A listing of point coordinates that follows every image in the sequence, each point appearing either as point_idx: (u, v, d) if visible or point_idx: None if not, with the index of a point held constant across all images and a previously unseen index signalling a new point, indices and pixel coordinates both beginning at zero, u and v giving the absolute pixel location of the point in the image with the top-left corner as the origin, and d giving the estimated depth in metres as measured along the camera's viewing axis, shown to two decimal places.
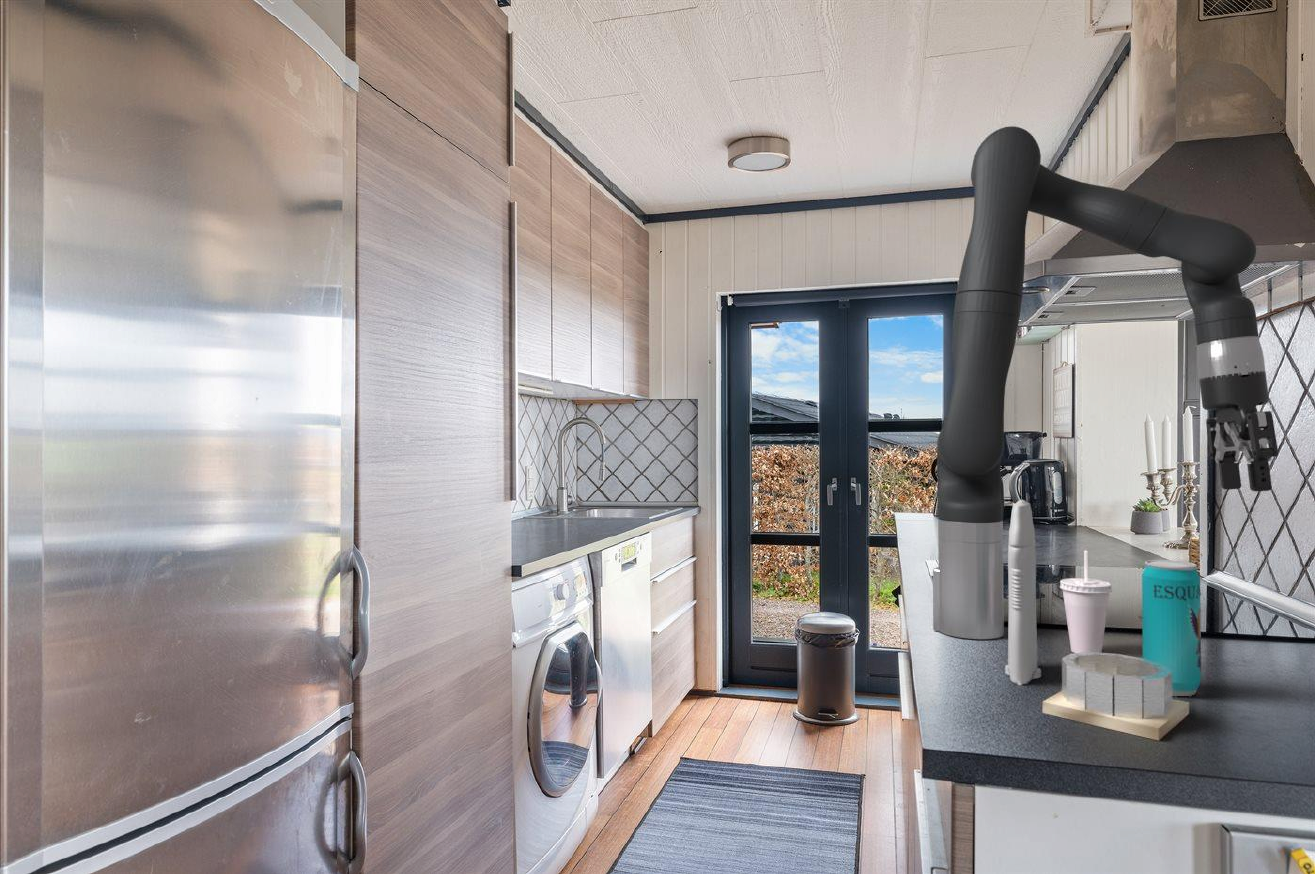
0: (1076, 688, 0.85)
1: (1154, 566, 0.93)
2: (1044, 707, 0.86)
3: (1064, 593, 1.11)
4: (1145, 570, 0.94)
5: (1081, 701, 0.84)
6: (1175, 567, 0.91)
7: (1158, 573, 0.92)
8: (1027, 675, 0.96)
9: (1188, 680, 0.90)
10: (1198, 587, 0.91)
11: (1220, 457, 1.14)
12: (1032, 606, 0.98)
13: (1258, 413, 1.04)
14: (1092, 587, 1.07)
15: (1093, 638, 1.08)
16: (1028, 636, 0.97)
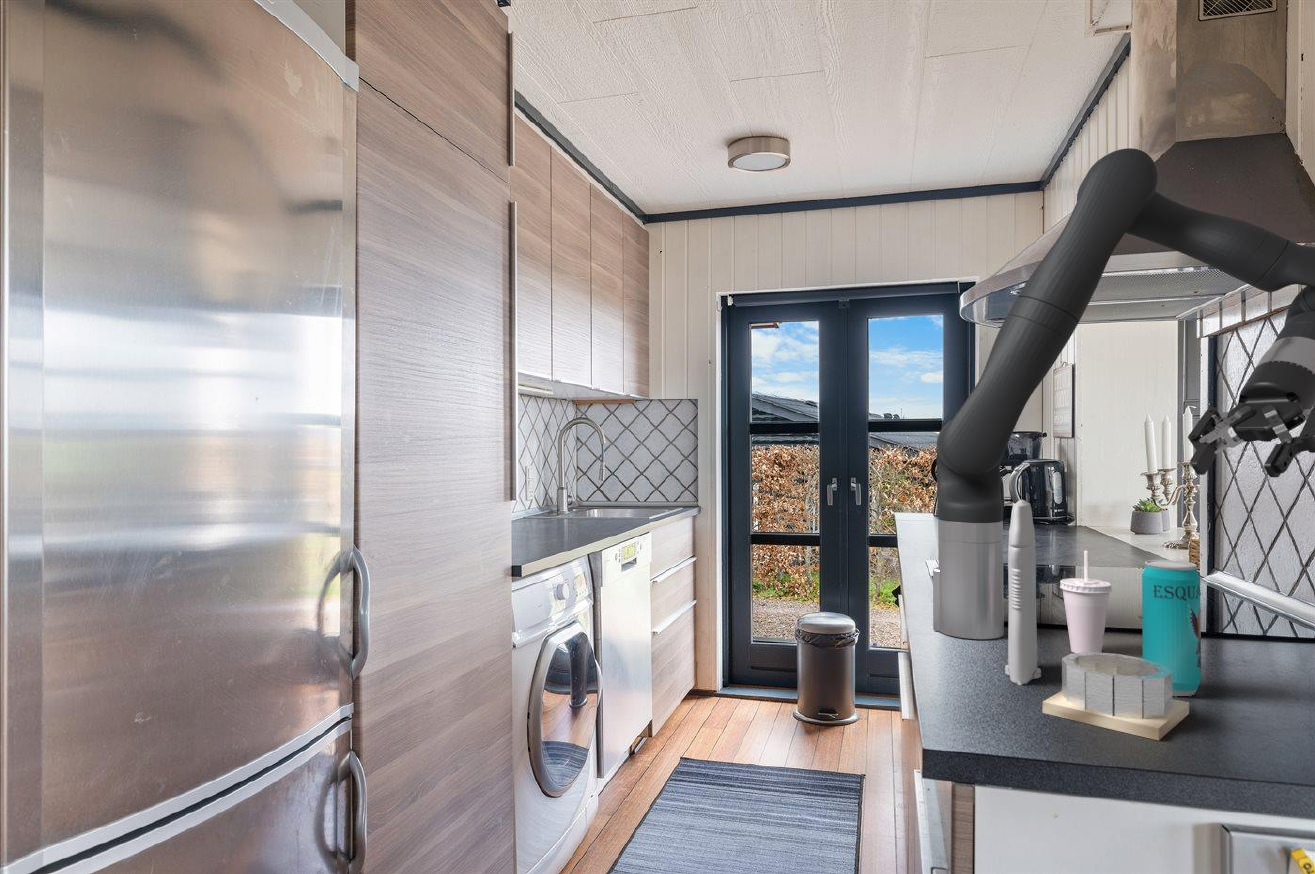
0: (1076, 688, 0.85)
1: (1154, 566, 0.93)
2: (1044, 707, 0.86)
3: (1064, 593, 1.11)
4: (1145, 570, 0.94)
5: (1081, 701, 0.84)
6: (1175, 567, 0.91)
7: (1158, 573, 0.92)
8: (1027, 675, 0.96)
9: (1188, 680, 0.90)
10: (1198, 587, 0.91)
11: (1212, 438, 1.02)
12: (1032, 606, 0.98)
13: None
14: (1092, 587, 1.07)
15: (1093, 638, 1.08)
16: (1028, 636, 0.97)
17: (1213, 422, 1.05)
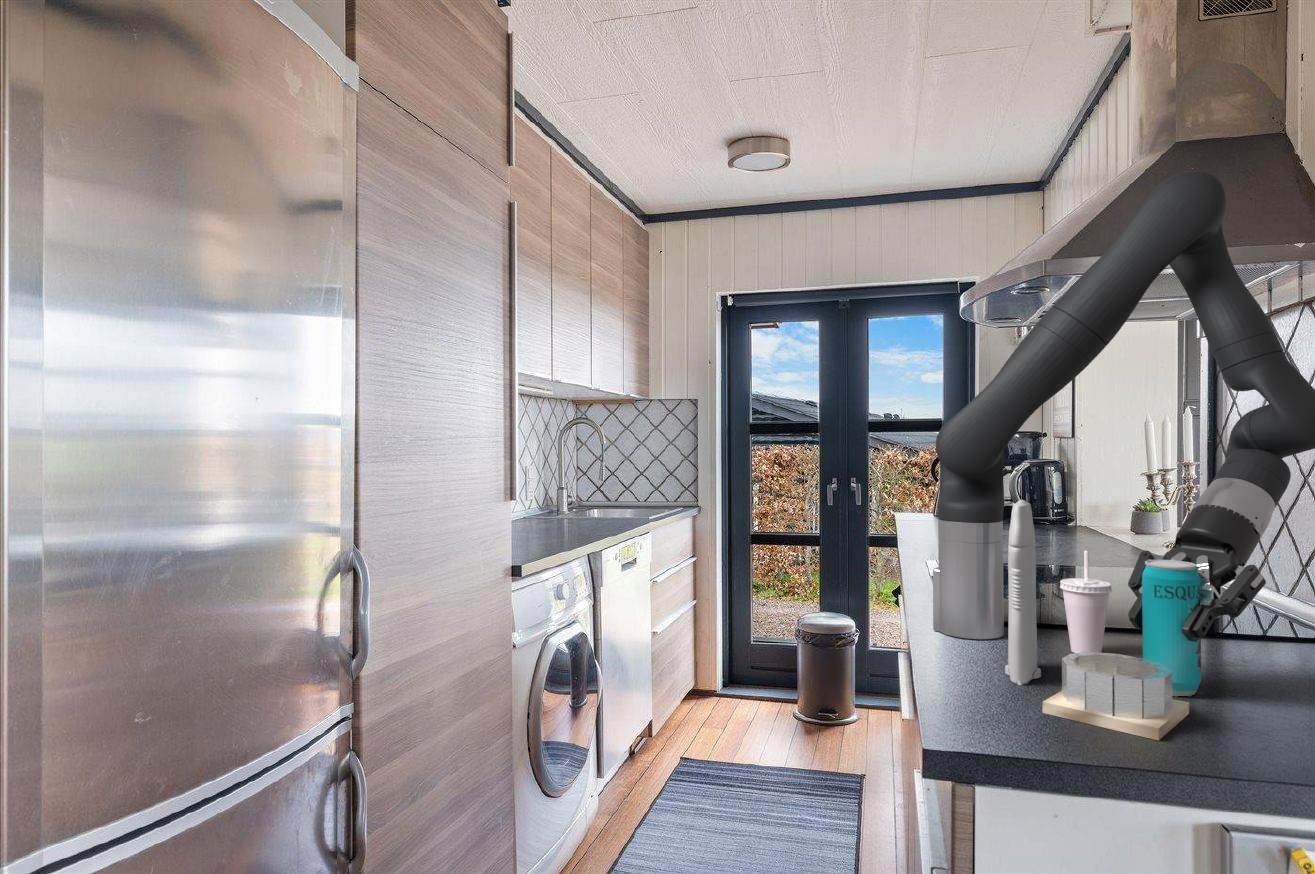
0: (1076, 688, 0.85)
1: (1154, 566, 0.93)
2: (1044, 707, 0.86)
3: (1064, 593, 1.11)
4: (1145, 570, 0.94)
5: (1081, 701, 0.84)
6: (1175, 567, 0.91)
7: (1158, 573, 0.92)
8: (1027, 675, 0.96)
9: (1188, 680, 0.90)
10: (1198, 587, 0.91)
11: None
12: (1032, 606, 0.98)
13: (1260, 572, 0.89)
14: (1092, 587, 1.07)
15: (1093, 638, 1.08)
16: (1028, 636, 0.97)
17: None
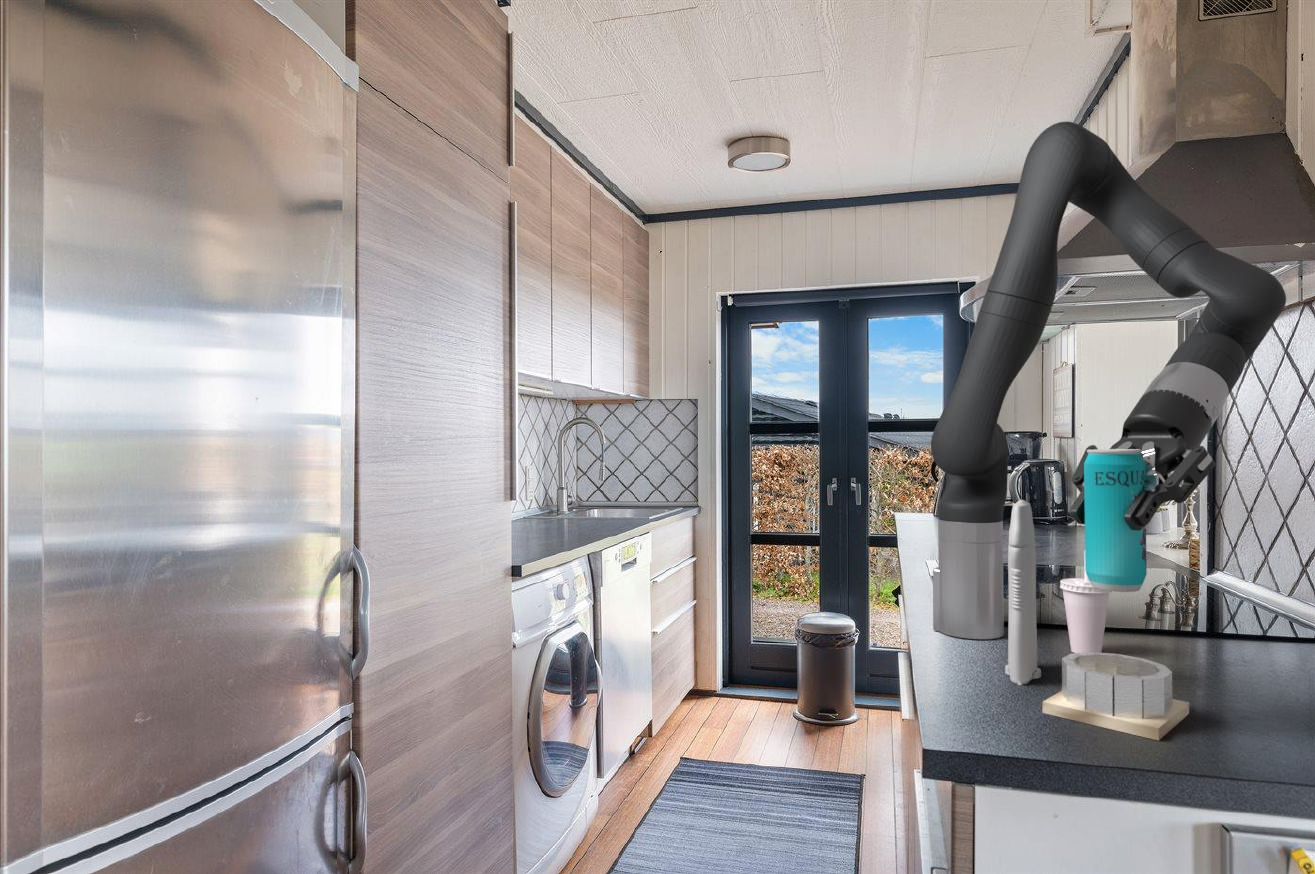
0: (1076, 688, 0.85)
1: (1095, 452, 0.85)
2: (1044, 707, 0.86)
3: (1064, 593, 1.11)
4: (1087, 458, 0.87)
5: (1081, 701, 0.84)
6: (1117, 451, 0.84)
7: (1099, 459, 0.85)
8: (1027, 675, 0.96)
9: (1131, 573, 0.83)
10: (1142, 473, 0.84)
11: None
12: (1032, 606, 0.98)
13: (1208, 454, 0.82)
14: (1092, 587, 1.07)
15: (1094, 638, 1.08)
16: (1028, 636, 0.97)
17: None
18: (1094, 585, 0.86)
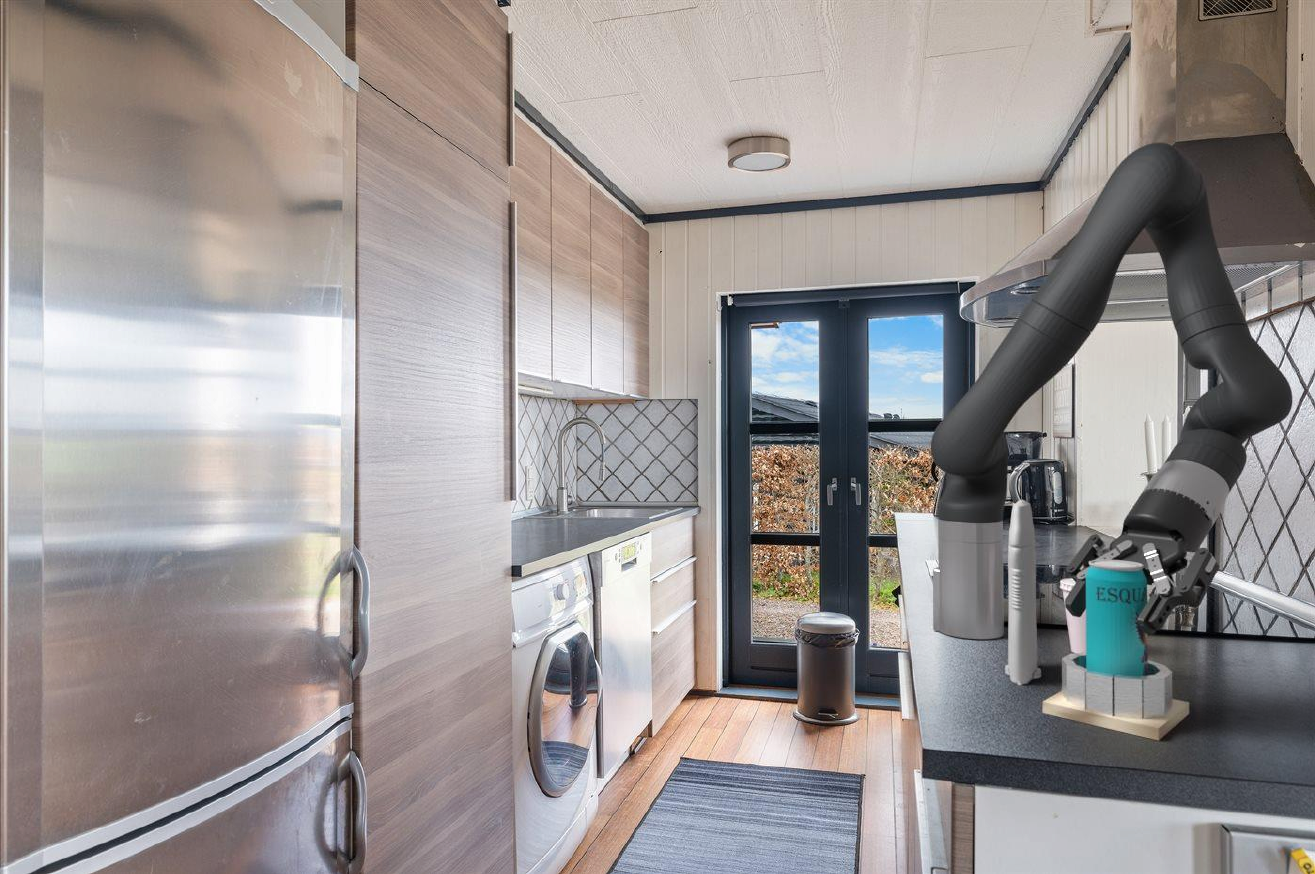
0: (1076, 688, 0.85)
1: (1097, 566, 0.85)
2: (1044, 707, 0.86)
3: (1064, 593, 1.11)
4: (1088, 571, 0.87)
5: (1081, 701, 0.84)
6: (1119, 567, 0.84)
7: (1101, 574, 0.85)
8: (1027, 675, 0.96)
9: None
10: (1144, 589, 0.84)
11: None
12: (1032, 606, 0.98)
13: None
14: None
15: None
16: (1028, 636, 0.97)
17: (1094, 553, 0.93)
18: None
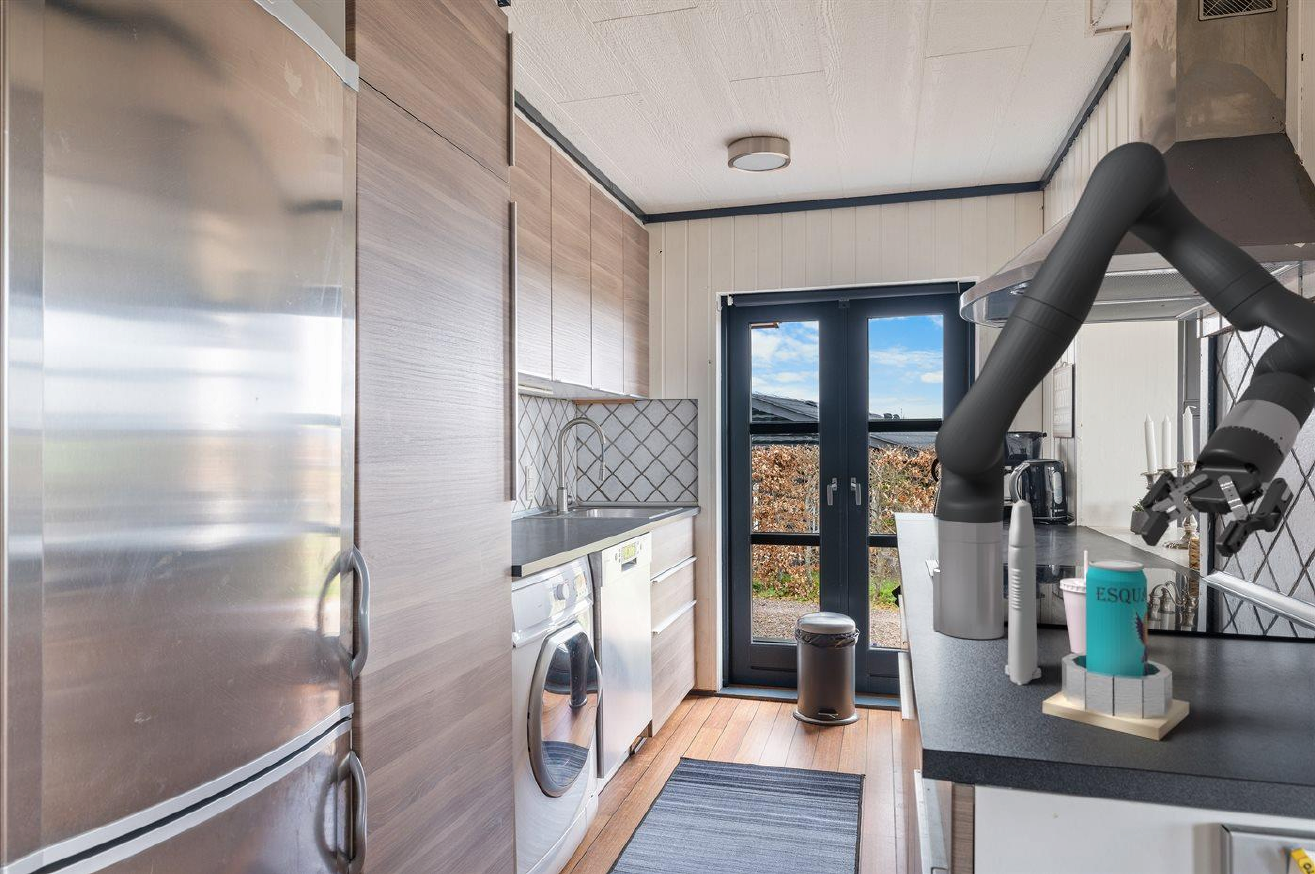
0: (1076, 688, 0.85)
1: (1097, 566, 0.85)
2: (1044, 707, 0.86)
3: (1064, 593, 1.11)
4: (1088, 571, 0.87)
5: (1081, 701, 0.84)
6: (1119, 567, 0.84)
7: (1101, 574, 0.85)
8: (1027, 675, 0.96)
9: None
10: (1144, 589, 0.84)
11: (1165, 507, 0.95)
12: (1032, 606, 0.98)
13: (1287, 485, 0.87)
14: None
15: None
16: (1028, 636, 0.97)
17: (1168, 488, 0.98)
18: None
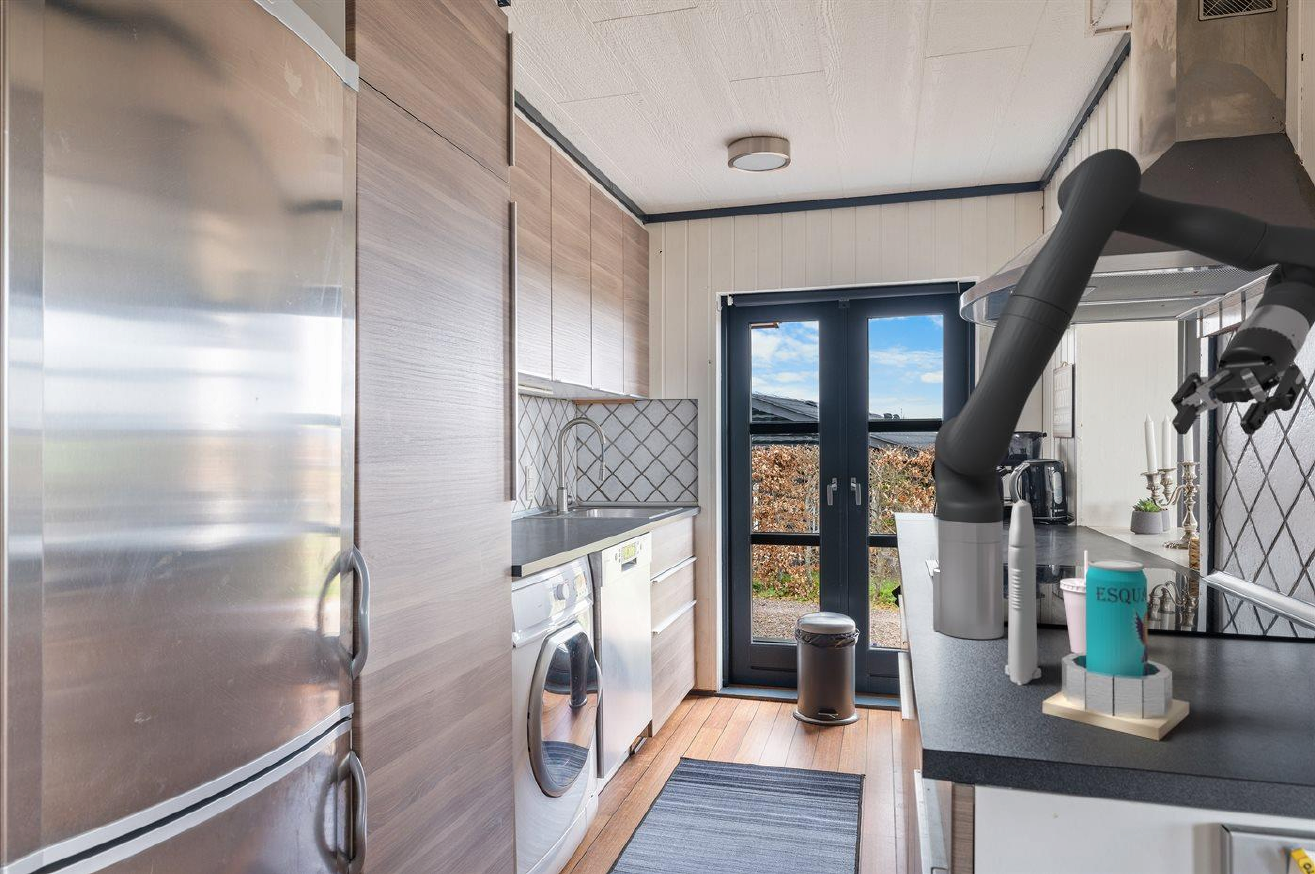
0: (1076, 688, 0.85)
1: (1097, 566, 0.85)
2: (1044, 707, 0.86)
3: (1064, 593, 1.11)
4: (1088, 571, 0.87)
5: (1081, 701, 0.84)
6: (1119, 567, 0.84)
7: (1101, 574, 0.85)
8: (1027, 675, 0.96)
9: None
10: (1144, 589, 0.84)
11: (1194, 400, 1.09)
12: (1032, 606, 0.98)
13: (1300, 371, 1.01)
14: None
15: None
16: (1028, 636, 0.97)
17: (1194, 386, 1.12)
18: None
